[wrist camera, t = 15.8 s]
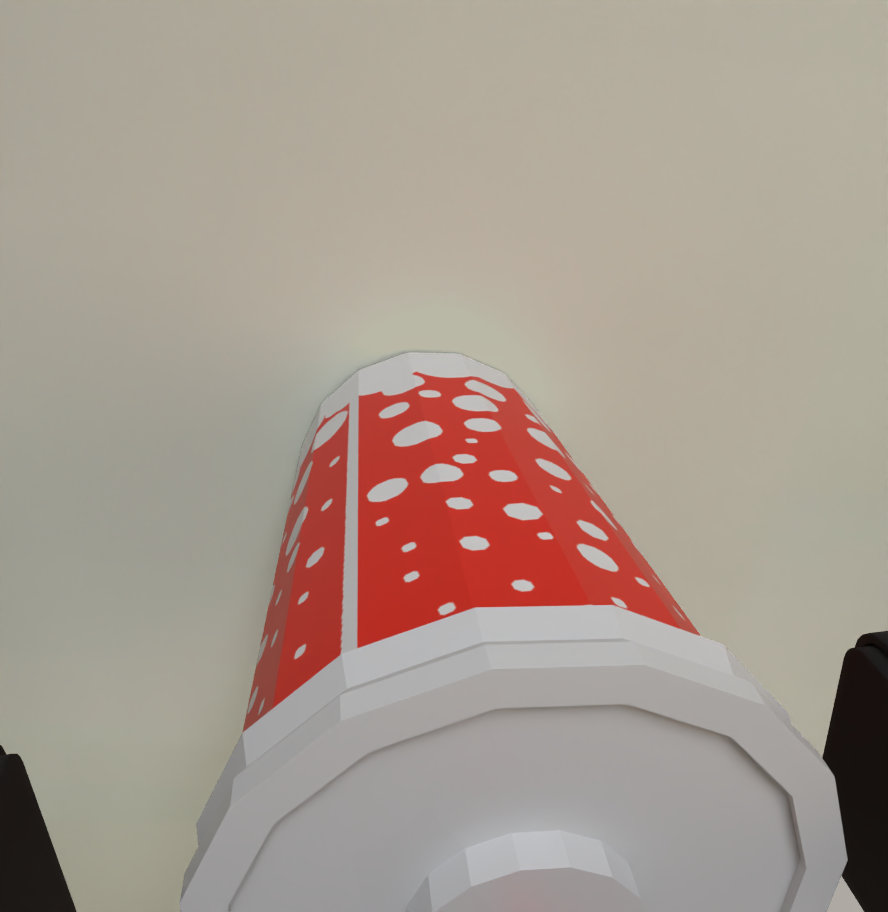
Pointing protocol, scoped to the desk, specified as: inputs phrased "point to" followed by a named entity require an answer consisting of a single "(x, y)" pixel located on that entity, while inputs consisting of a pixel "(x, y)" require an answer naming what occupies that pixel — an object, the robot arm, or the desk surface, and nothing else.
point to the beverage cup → (494, 692)
